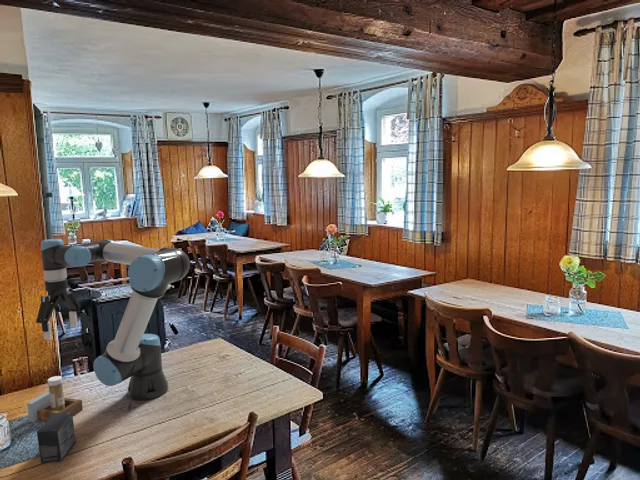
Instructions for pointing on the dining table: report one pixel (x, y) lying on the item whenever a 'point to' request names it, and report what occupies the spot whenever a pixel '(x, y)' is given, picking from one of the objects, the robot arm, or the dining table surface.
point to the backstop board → (37, 406)
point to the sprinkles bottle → (56, 393)
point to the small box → (56, 437)
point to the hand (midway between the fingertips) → (61, 333)
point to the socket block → (70, 407)
